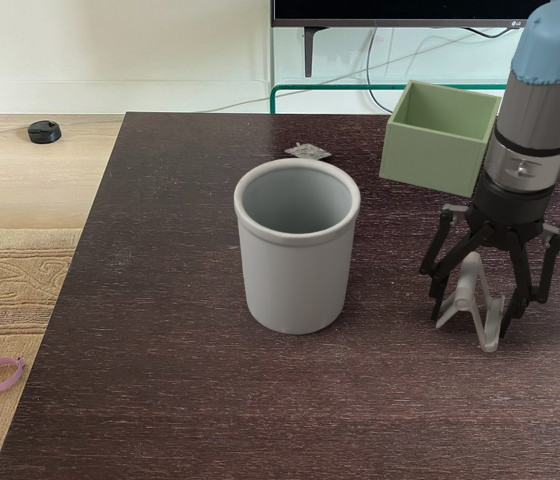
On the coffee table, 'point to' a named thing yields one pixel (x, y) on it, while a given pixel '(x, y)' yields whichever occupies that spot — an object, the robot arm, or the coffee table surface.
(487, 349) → the tablet stand
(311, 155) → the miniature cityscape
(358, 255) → the coffee table surface
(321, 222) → the utensil holder
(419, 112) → the bin
